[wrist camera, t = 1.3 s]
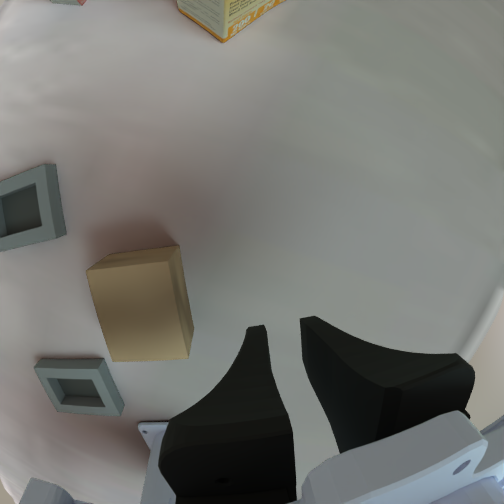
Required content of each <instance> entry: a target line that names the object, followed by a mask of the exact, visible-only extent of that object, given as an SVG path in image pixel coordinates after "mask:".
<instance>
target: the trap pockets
mask: <svg viewBox="0 0 504 504" xmlns="http://www.w3.org/2000/svg"><path fill="white" fill-rule="evenodd" d="M63 235H66V229H65V224H64V218H63V213H62V207H61V200H60V194H59V187H58V179H57V170H56V165H54V164H44V165H41V166H38V167H36V168H33V169H31V170H28V171H25V172H23V173H20V174H18V175H15V176H13V177H11V178H8V179H6V180H4V181H1V182H0V252H2V251H6V250H10V249H14V248H18V247H22V246H26V245H30V244H34V243H38V242H43V241H47V240H51V239H56V238H58V237H61V236H63ZM34 369H35V372H36V374H37V376H38V378H39V379H40V381H41V383H42V385H43V387H44V389H45V391H46V393H47V394H48V396H49V398H50V400H51V402H52V403H53V405H54V407H55V408H56V410H57V412H66V413H76V414H88V415H104V416H121V413H122V411H123V408H124V403H123V401H122V398H121V396H120V394H119V392H118V390H117V388H116V385H115V383H114V381H113V379H112V376H111V374H110V372H109V369H108V367H107V365H106V362H105V360H104V359H41V360H40V361H39V362H38V363H37V364H36V365H35V367H34Z"/></svg>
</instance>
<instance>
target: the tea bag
mask: <svg viewBox="0 0 504 504" xmlns="http://www.w3.org/2000/svg"><path fill="white" fill-rule="evenodd" d="M50 1H51V2H52V3H58V4H70V5H80V6H82V5H83V4H84V2H85V1H86V0H50Z"/></svg>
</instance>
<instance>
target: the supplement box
mask: <svg viewBox="0 0 504 504" xmlns="http://www.w3.org/2000/svg"><path fill="white" fill-rule="evenodd" d="M283 1H285V0H177V4H178V8H179V11H180V12H181V13H183V14H184V15H186V16H187V17H189V18H190V19H192V20H193V21H194V22H196V23H197V24H199V25H200V26H201V27H203V28H204V29H206V30H207V31H208V32H210V33H211V34H212V35H214V36H215V37H216V38H217V39H219V40H220V41H221V42H222V43H224V42H226V41H227V40H229V39H230V38H231V37H233V36H234V35H235V34H236V33H238V32H239V31H240V30H242V29H243V28H245V27H246V26H247V25H249V24H250V23H251V22H253V21H254V20H255V19H257V18H258V17H260V16H261V15H263V14H264V13H265V12H267V11H268V10H270V9H271V8H273V7H274V6H276V5H278V4H279V3H281V2H283Z"/></svg>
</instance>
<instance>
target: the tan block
mask: <svg viewBox="0 0 504 504" xmlns="http://www.w3.org/2000/svg"><path fill="white" fill-rule="evenodd" d="M86 275H87V279H88V283H89V287H90V291H91V295H92V298H93V302H94V306H95V309H96V313H97V316H98V319H99V323H100V326H101V329H102V332H103V335H104V338H105V341H106V344H107V347H108V350H109V353H110V356H111V359H112V361H113V362H129V361H158V360H176V359H188V358H189V353H190V348H191V342H192V337H193V332H194V325H193V321H192V315H191V310H190V305H189V300H188V294H187V289H186V283H185V278H184V272H183V266H182V260H181V253H180V247H179V245H178V246H170V247H162V248H154V249H146V250H138V251H131V252H123V253H116V254H109V255H108V256H106V257H105V258H103V259H102V260H100V261H99V262H97V263H96V264H95V265H93V266H92V267H90V268H89V269H87V270H86Z"/></svg>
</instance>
